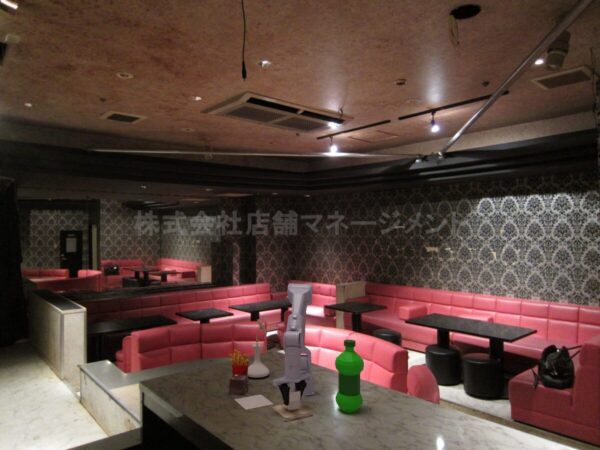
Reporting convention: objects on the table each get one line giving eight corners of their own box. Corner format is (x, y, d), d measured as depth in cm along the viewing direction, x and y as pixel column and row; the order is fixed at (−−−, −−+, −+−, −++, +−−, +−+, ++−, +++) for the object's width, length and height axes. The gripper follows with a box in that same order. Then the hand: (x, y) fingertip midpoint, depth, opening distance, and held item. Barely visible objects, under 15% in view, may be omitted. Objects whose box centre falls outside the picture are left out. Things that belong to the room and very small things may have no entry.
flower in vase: (268, 380, 186) (269, 323, 187) (242, 379, 186) (243, 322, 187) (270, 371, 199) (271, 317, 200) (246, 370, 199) (247, 317, 200)
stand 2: (297, 405, 157) (297, 401, 157) (313, 416, 148) (313, 411, 148) (271, 411, 152) (271, 406, 152) (285, 422, 142) (285, 418, 142)
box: (243, 399, 163) (243, 380, 163) (228, 398, 164) (229, 378, 164) (248, 394, 169) (249, 375, 169) (234, 392, 170) (234, 374, 170)
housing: (294, 404, 153) (294, 387, 153) (300, 408, 149) (300, 390, 150) (283, 406, 151) (283, 389, 151) (289, 410, 147) (289, 393, 147)
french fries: (248, 384, 180) (249, 348, 181) (247, 391, 172) (247, 353, 172) (228, 384, 180) (228, 348, 180) (225, 391, 171) (226, 353, 172)
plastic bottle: (346, 402, 161) (347, 336, 162) (368, 410, 154) (369, 341, 155) (329, 409, 154) (329, 340, 155) (351, 418, 147) (352, 345, 148)
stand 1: (260, 398, 164) (260, 394, 164) (273, 408, 155) (273, 404, 155) (234, 403, 159) (234, 399, 159) (245, 413, 149) (245, 409, 149)
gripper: (279, 370, 143) (279, 411, 143) (315, 364, 151) (315, 403, 150) (270, 365, 150) (269, 404, 149) (305, 360, 157) (305, 397, 156)
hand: (291, 403), depth 150 cm, fingers closed on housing, 4 cm apart
